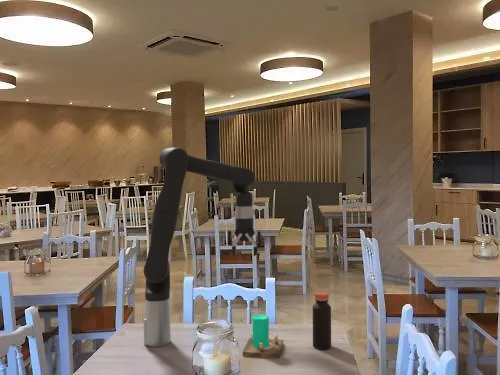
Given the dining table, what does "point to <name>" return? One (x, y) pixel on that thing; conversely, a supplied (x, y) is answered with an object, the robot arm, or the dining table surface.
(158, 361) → the dining table surface
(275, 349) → the stand
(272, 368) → the dining table surface
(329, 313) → the bottle
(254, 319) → the candle
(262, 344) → the pins
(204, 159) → the robot arm
